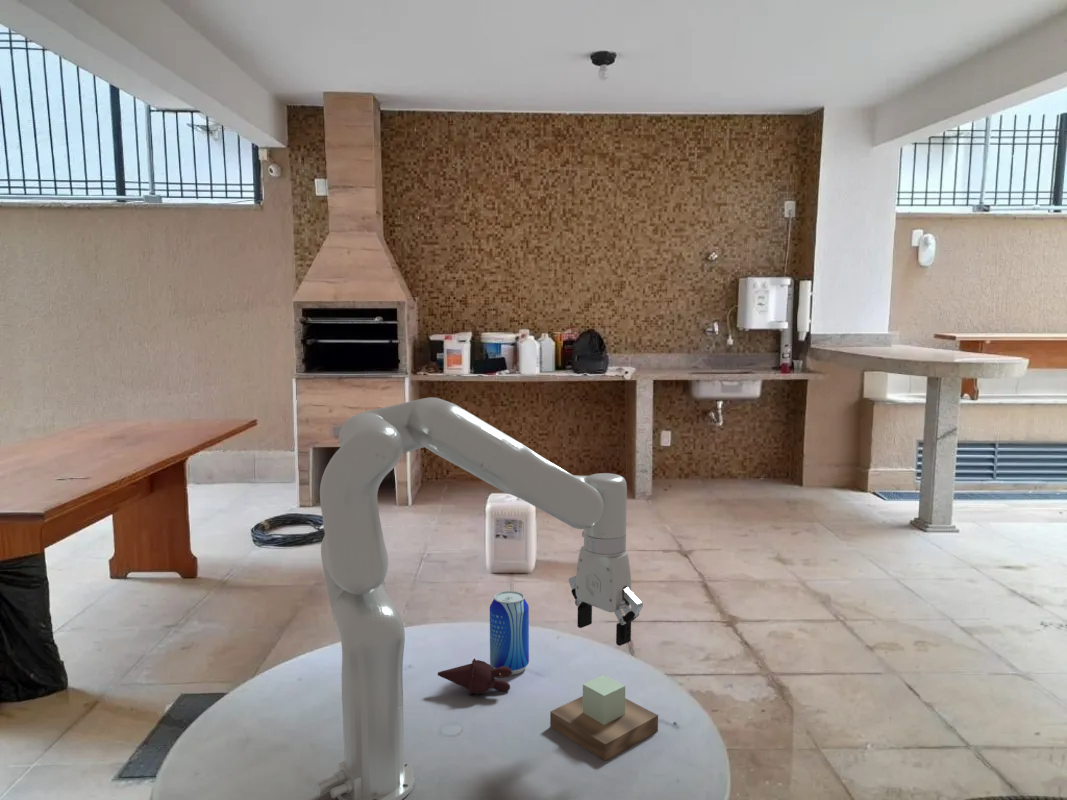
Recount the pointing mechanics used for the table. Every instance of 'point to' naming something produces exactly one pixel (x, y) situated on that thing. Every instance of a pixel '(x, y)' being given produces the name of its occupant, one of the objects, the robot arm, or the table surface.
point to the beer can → (509, 631)
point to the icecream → (478, 677)
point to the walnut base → (604, 727)
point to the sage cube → (604, 699)
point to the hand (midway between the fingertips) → (603, 634)
